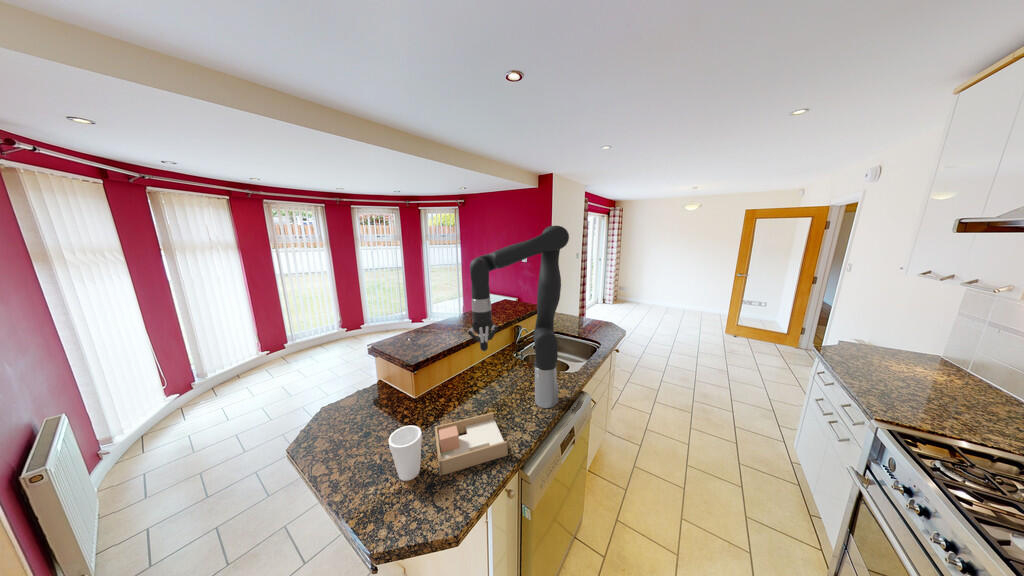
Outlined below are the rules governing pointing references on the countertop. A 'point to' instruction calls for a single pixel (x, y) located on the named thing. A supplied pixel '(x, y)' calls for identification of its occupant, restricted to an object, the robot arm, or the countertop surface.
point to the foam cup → (406, 451)
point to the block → (449, 439)
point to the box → (472, 444)
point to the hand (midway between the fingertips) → (484, 350)
